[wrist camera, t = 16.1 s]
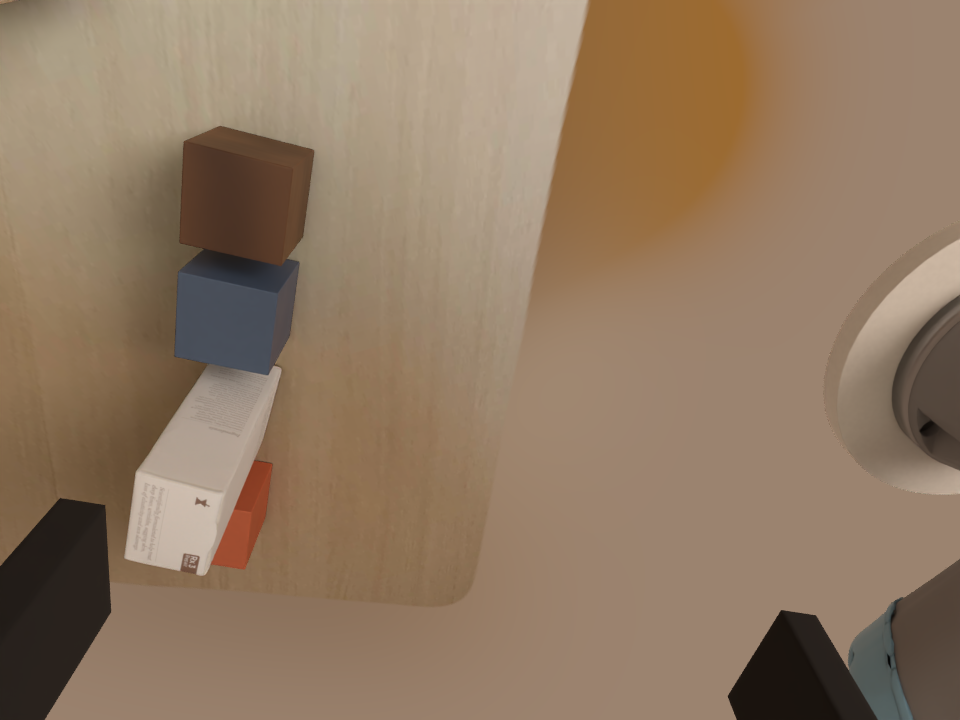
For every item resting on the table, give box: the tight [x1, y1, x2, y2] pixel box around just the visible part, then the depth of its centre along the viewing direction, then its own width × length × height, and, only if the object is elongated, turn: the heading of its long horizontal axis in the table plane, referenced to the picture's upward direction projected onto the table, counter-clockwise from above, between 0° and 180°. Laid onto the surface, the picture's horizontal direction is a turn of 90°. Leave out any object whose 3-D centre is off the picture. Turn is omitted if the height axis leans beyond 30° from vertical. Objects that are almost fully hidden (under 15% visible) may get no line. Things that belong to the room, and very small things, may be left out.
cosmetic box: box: [124, 364, 281, 576], centre depth 36 cm, size 6×4×12 cm
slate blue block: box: [174, 249, 299, 375], centre depth 36 cm, size 5×5×5 cm
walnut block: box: [179, 126, 314, 266], centre depth 33 cm, size 5×5×5 cm
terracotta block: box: [211, 461, 272, 569], centre depth 42 cm, size 5×5×5 cm
